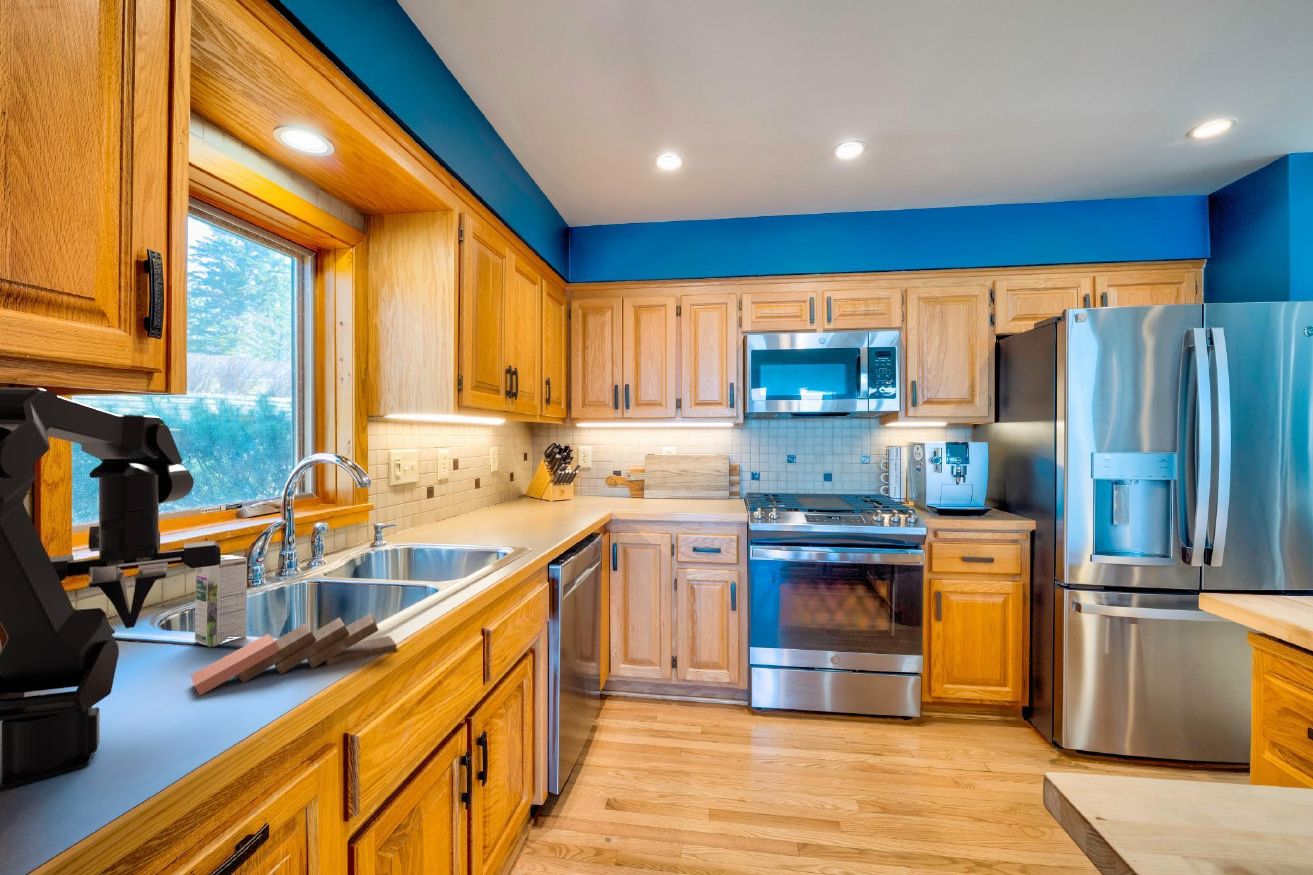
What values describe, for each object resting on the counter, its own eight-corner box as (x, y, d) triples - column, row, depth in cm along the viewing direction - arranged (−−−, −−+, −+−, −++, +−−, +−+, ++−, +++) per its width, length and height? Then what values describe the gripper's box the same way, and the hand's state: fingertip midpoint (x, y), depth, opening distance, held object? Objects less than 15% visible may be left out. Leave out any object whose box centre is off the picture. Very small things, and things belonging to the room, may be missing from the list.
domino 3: (275, 666, 81) (344, 625, 87) (272, 655, 85) (339, 617, 91) (280, 674, 82) (349, 633, 87) (278, 663, 86) (344, 625, 91)
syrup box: (193, 642, 95) (192, 559, 95) (232, 632, 101) (231, 553, 101) (209, 648, 93) (209, 562, 93) (248, 637, 98) (248, 556, 98)
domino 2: (237, 674, 79) (311, 631, 85) (233, 663, 82) (304, 623, 89) (242, 683, 79) (316, 639, 85) (238, 672, 83) (309, 631, 89)
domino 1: (194, 686, 75) (275, 641, 82) (190, 675, 78) (268, 633, 85) (199, 695, 75) (280, 650, 82) (195, 684, 79) (272, 642, 86)
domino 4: (307, 660, 83) (374, 622, 88) (307, 648, 88) (370, 612, 92) (312, 668, 84) (378, 630, 89) (311, 656, 88) (375, 620, 93)
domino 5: (326, 659, 85) (396, 643, 91) (322, 649, 89) (389, 635, 95) (326, 669, 85) (396, 653, 91) (322, 659, 89) (389, 644, 95)
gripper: (216, 499, 85) (217, 599, 85) (37, 510, 73) (37, 627, 73) (220, 505, 76) (221, 617, 76) (17, 519, 64) (18, 652, 64)
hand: (130, 627), depth 73 cm, fingers closed
